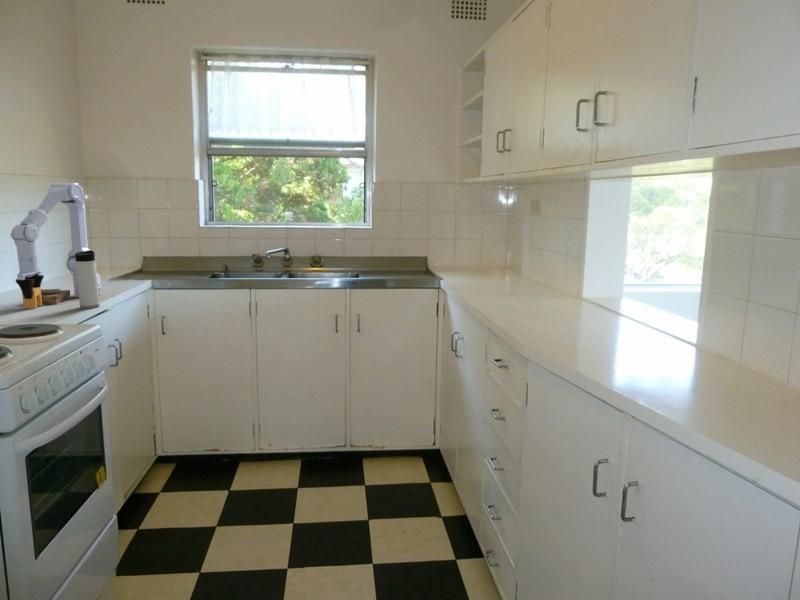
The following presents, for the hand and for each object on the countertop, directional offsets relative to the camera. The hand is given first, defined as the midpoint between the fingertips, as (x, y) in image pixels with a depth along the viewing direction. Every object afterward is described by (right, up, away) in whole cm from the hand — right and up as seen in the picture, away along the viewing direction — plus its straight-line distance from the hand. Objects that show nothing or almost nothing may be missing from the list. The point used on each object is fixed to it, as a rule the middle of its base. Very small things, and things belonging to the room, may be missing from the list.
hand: (32, 297), depth 217 cm
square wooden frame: (-1, -2, +12) cm, 13 cm away
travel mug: (+20, -4, +1) cm, 21 cm away
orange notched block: (0, -3, +1) cm, 3 cm away
